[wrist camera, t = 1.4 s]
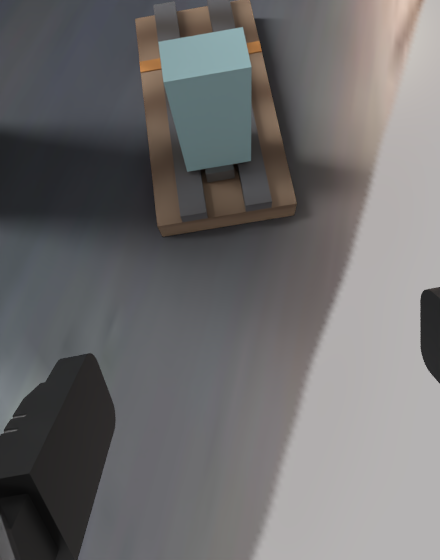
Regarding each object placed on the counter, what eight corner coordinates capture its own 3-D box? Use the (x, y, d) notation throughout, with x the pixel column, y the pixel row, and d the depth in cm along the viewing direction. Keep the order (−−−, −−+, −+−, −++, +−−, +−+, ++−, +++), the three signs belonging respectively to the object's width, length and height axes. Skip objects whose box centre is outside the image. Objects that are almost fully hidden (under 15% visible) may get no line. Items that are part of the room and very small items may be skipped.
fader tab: (252, 175, 32) (253, 73, 22) (190, 185, 32) (164, 89, 22) (243, 133, 33) (241, 20, 24) (184, 143, 33) (157, 35, 24)
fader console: (294, 215, 33) (298, 197, 30) (162, 236, 33) (154, 220, 31) (249, 18, 40) (249, -12, 37) (140, 37, 40) (132, 8, 37)
